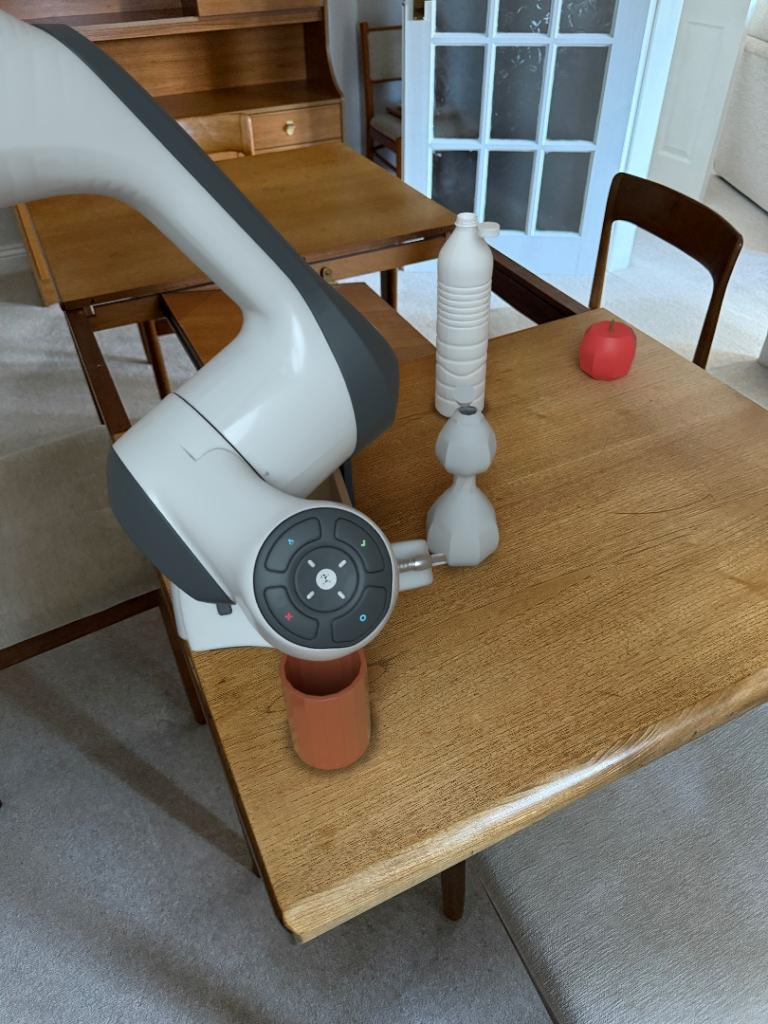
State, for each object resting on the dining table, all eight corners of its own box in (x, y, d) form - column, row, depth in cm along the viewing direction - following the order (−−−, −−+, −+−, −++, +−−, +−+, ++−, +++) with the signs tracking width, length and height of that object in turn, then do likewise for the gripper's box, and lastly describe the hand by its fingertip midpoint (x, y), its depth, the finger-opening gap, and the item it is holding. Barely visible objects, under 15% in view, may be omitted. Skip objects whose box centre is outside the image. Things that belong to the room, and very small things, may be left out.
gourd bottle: (438, 520, 81) (441, 355, 68) (507, 537, 78) (525, 369, 66) (412, 567, 75) (410, 396, 63) (485, 587, 73) (500, 413, 60)
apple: (568, 361, 107) (575, 309, 102) (622, 358, 108) (632, 306, 103) (583, 388, 101) (591, 335, 96) (640, 385, 102) (652, 331, 96)
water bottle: (425, 402, 100) (427, 211, 84) (466, 389, 102) (475, 201, 86) (460, 433, 94) (469, 234, 78) (503, 419, 96) (520, 223, 80)
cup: (298, 778, 58) (285, 708, 52) (287, 711, 62) (274, 640, 57) (378, 759, 59) (374, 689, 53) (361, 694, 63) (356, 624, 58)
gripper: (444, 513, 53) (408, 529, 67) (152, 564, 50) (177, 570, 63) (461, 600, 53) (421, 598, 66) (167, 657, 49) (189, 643, 63)
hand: (300, 585), depth 65 cm, fingers closed
